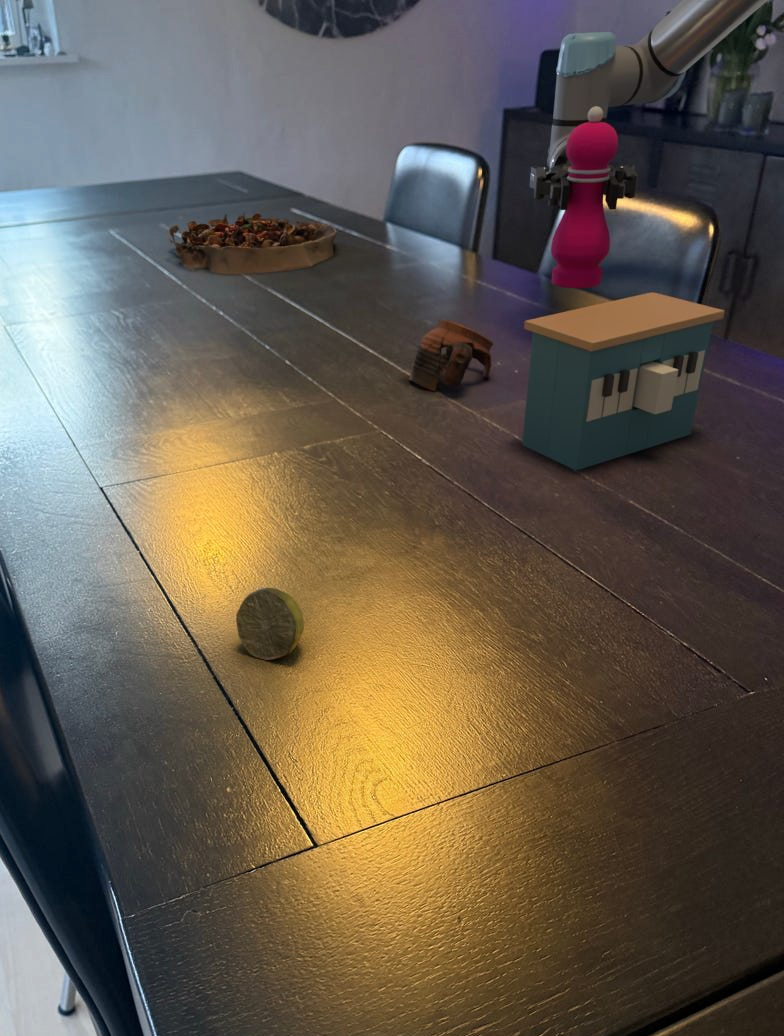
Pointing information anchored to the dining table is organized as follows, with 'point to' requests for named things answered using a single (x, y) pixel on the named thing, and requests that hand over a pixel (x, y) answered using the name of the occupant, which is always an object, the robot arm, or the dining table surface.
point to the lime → (269, 623)
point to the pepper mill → (585, 205)
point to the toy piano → (612, 376)
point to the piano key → (655, 387)
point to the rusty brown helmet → (449, 355)
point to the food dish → (253, 245)
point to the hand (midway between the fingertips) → (589, 197)
